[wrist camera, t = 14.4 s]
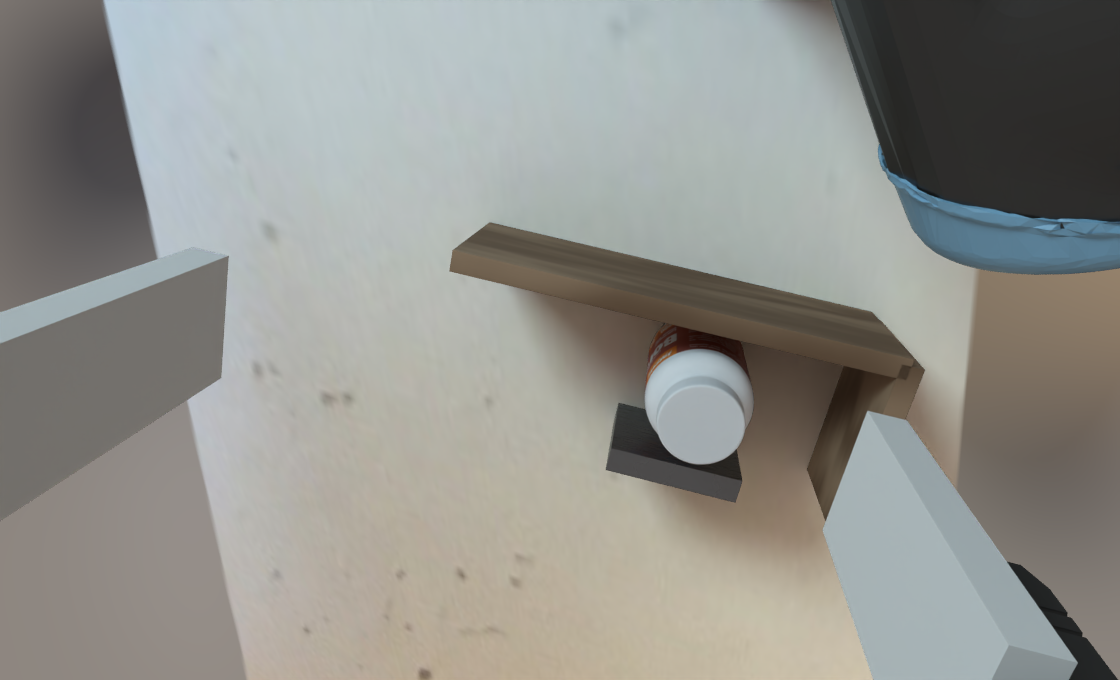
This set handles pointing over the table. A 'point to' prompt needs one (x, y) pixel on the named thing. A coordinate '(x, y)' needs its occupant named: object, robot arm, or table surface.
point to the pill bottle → (697, 393)
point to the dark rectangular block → (666, 459)
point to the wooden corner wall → (718, 323)
